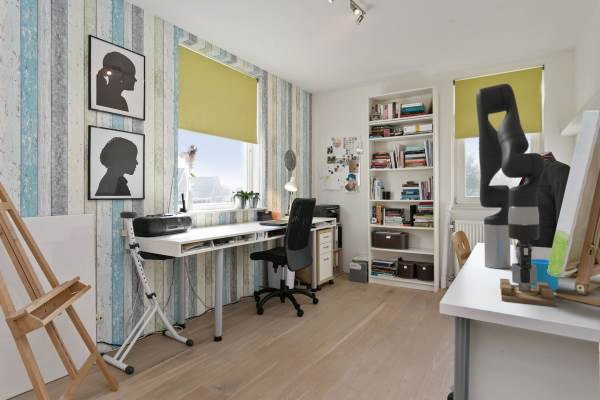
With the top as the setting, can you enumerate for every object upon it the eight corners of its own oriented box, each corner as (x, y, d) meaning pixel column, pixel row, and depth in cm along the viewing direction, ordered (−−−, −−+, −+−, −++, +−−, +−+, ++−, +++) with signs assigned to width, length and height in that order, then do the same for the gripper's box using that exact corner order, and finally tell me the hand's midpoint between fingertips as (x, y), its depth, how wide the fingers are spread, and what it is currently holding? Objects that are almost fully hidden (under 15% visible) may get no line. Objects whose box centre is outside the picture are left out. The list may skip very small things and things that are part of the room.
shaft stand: (500, 287, 111) (499, 266, 111) (546, 291, 105) (545, 269, 105) (501, 300, 96) (501, 277, 96) (555, 306, 91) (554, 281, 91)
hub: (511, 279, 105) (511, 262, 105) (535, 281, 102) (534, 264, 102) (513, 283, 100) (512, 266, 100) (537, 285, 97) (537, 267, 97)
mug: (559, 291, 105) (558, 264, 105) (526, 288, 109) (526, 262, 109) (557, 283, 115) (556, 258, 115) (527, 280, 119) (527, 256, 119)
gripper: (507, 220, 109) (508, 274, 109) (509, 223, 96) (510, 284, 96) (536, 221, 105) (536, 276, 105) (542, 224, 92) (543, 287, 93)
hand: (524, 280), depth 101 cm, fingers closed on hub, 5 cm apart
